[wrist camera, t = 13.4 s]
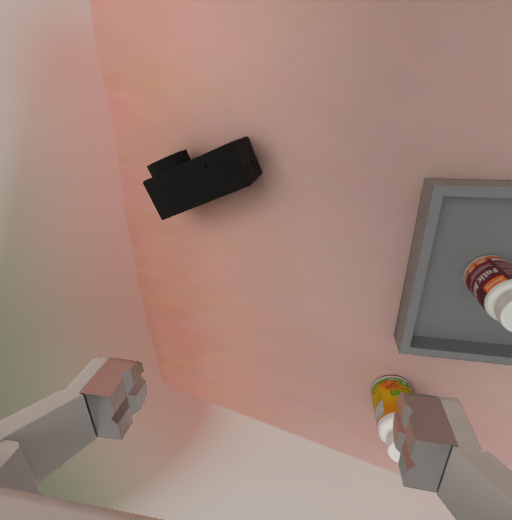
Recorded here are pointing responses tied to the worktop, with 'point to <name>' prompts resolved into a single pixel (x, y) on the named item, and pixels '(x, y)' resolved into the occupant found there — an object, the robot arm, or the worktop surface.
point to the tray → (455, 271)
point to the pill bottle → (492, 286)
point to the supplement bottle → (388, 408)
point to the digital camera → (200, 177)
